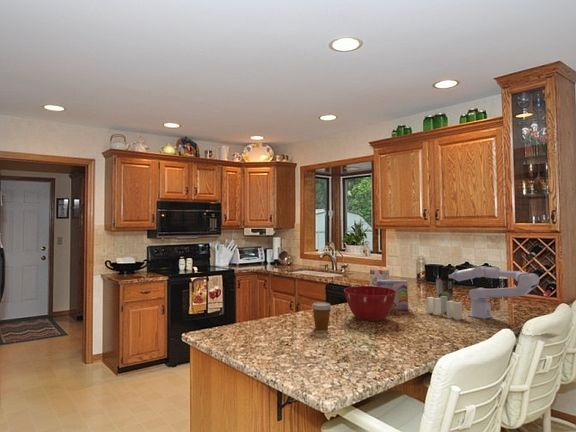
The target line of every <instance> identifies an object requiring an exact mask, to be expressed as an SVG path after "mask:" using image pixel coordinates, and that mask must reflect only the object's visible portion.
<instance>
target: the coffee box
mask: <svg viewBox="0 0 576 432" xmlns="http://www.w3.org/2000/svg"><path fill="white" fill-rule="evenodd" d="M453 282H454V280H453V281H452V282H450V281H441V278H439V277H438V278H435V298H440V297H442V296H447V301H452V300H453V301H454V293H453V291H454V290H453V289H454V287H453Z"/></svg>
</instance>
